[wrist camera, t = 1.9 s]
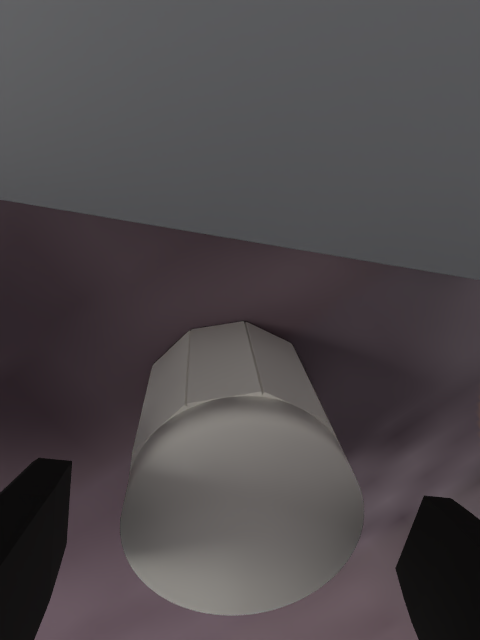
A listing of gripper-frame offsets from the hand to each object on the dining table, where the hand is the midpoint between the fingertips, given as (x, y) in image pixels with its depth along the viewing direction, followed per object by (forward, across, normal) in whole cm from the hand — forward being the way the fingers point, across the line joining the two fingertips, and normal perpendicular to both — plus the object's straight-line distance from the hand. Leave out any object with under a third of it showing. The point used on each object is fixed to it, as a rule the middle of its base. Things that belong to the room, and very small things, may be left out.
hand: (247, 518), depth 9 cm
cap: (+5, 0, 0) cm, 5 cm away
